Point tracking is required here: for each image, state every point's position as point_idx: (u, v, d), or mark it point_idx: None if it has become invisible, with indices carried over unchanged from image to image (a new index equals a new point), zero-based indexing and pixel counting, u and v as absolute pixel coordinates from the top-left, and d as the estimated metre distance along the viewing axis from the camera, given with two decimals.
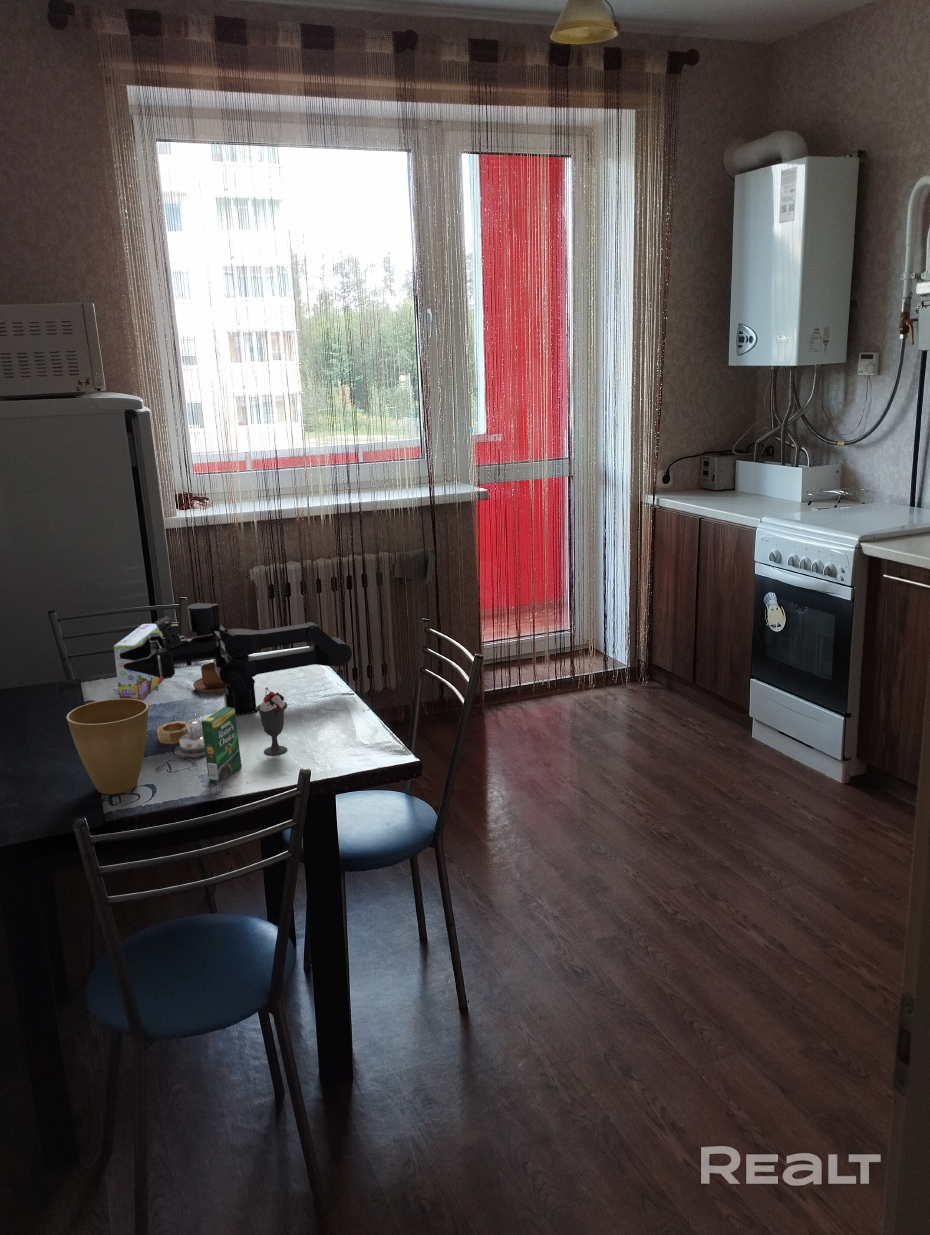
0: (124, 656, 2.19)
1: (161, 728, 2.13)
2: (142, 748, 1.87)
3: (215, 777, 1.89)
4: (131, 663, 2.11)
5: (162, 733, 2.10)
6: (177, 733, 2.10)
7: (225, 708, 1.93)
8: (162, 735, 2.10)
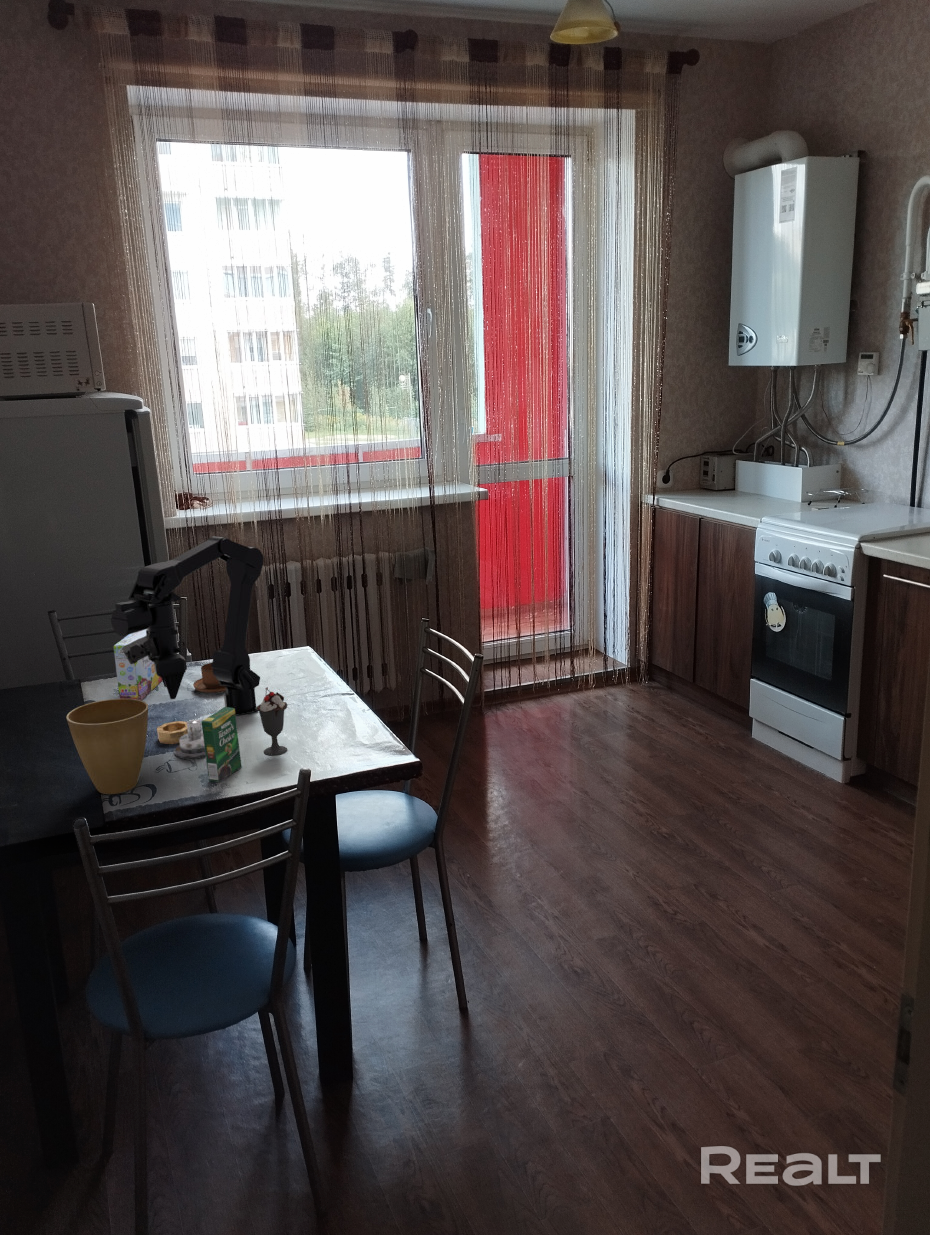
0: None
1: (161, 728, 2.13)
2: (142, 748, 1.87)
3: (215, 777, 1.89)
4: (169, 693, 2.06)
5: (162, 733, 2.10)
6: (177, 733, 2.10)
7: (225, 708, 1.93)
8: (162, 735, 2.10)
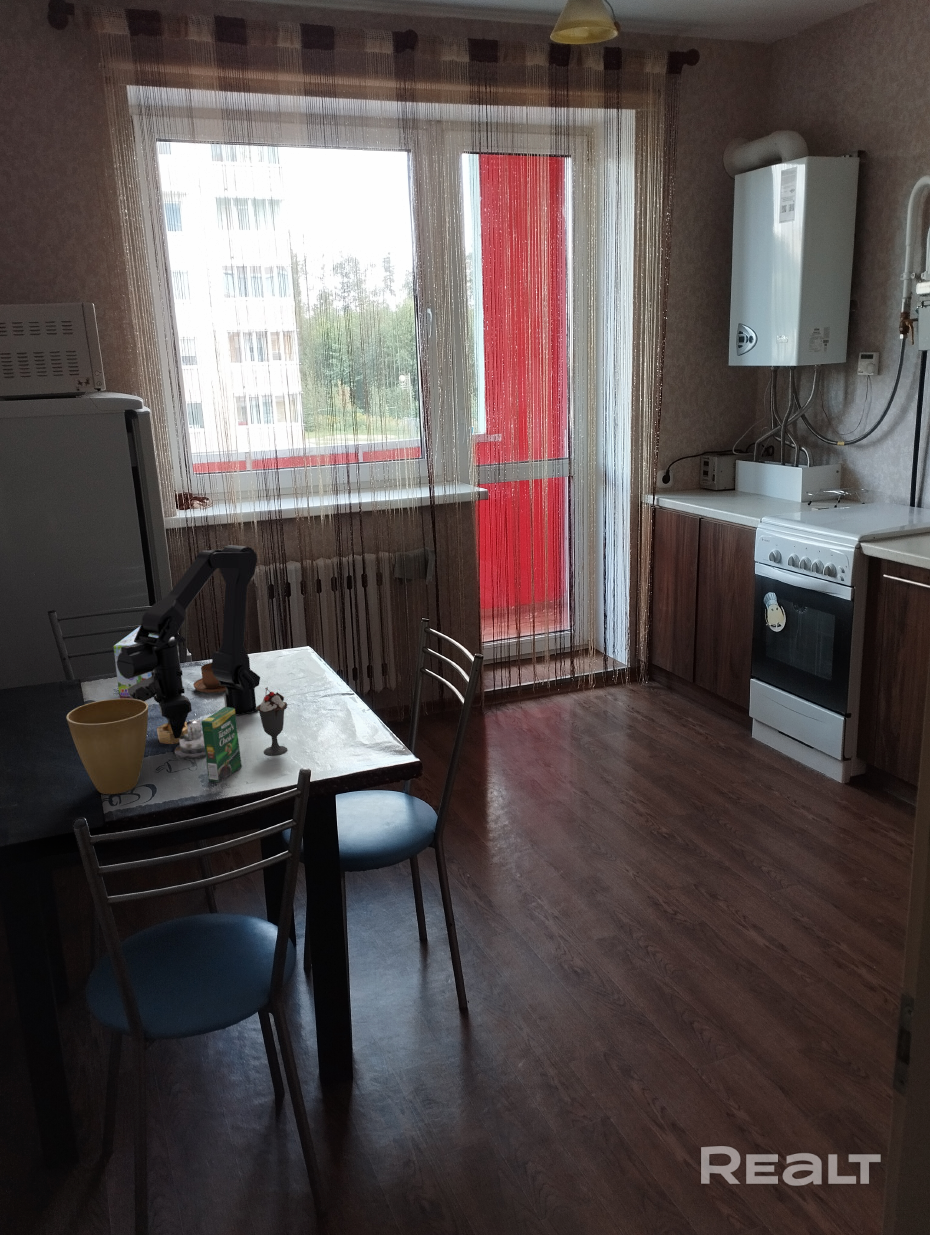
0: None
1: (161, 728, 2.13)
2: (142, 748, 1.87)
3: (215, 777, 1.89)
4: (174, 732, 2.09)
5: (162, 733, 2.10)
6: None
7: (225, 708, 1.93)
8: (162, 735, 2.10)
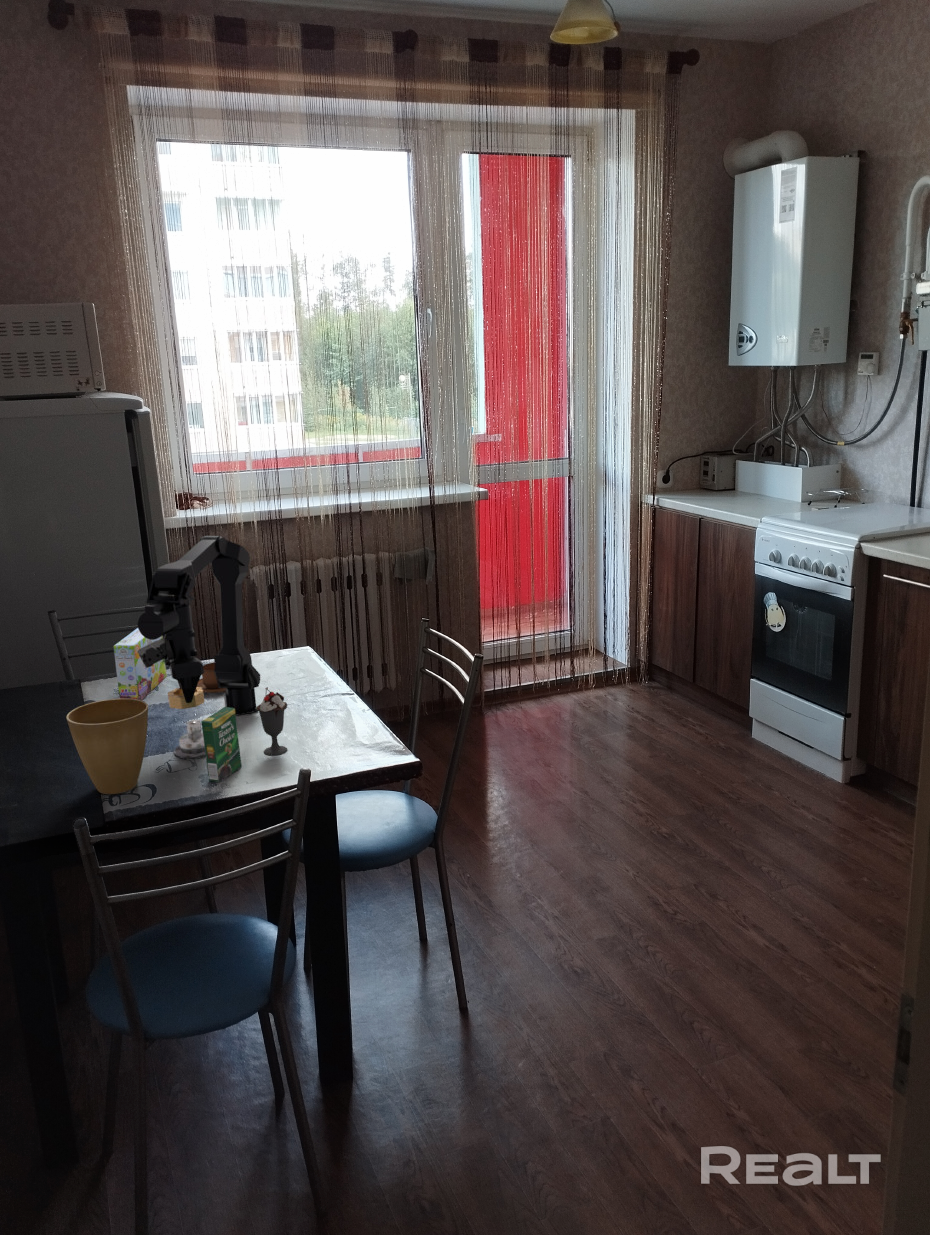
0: None
1: (172, 693, 2.03)
2: (142, 748, 1.87)
3: (215, 777, 1.89)
4: (185, 696, 1.99)
5: (172, 697, 2.01)
6: None
7: (225, 708, 1.93)
8: (173, 699, 2.01)
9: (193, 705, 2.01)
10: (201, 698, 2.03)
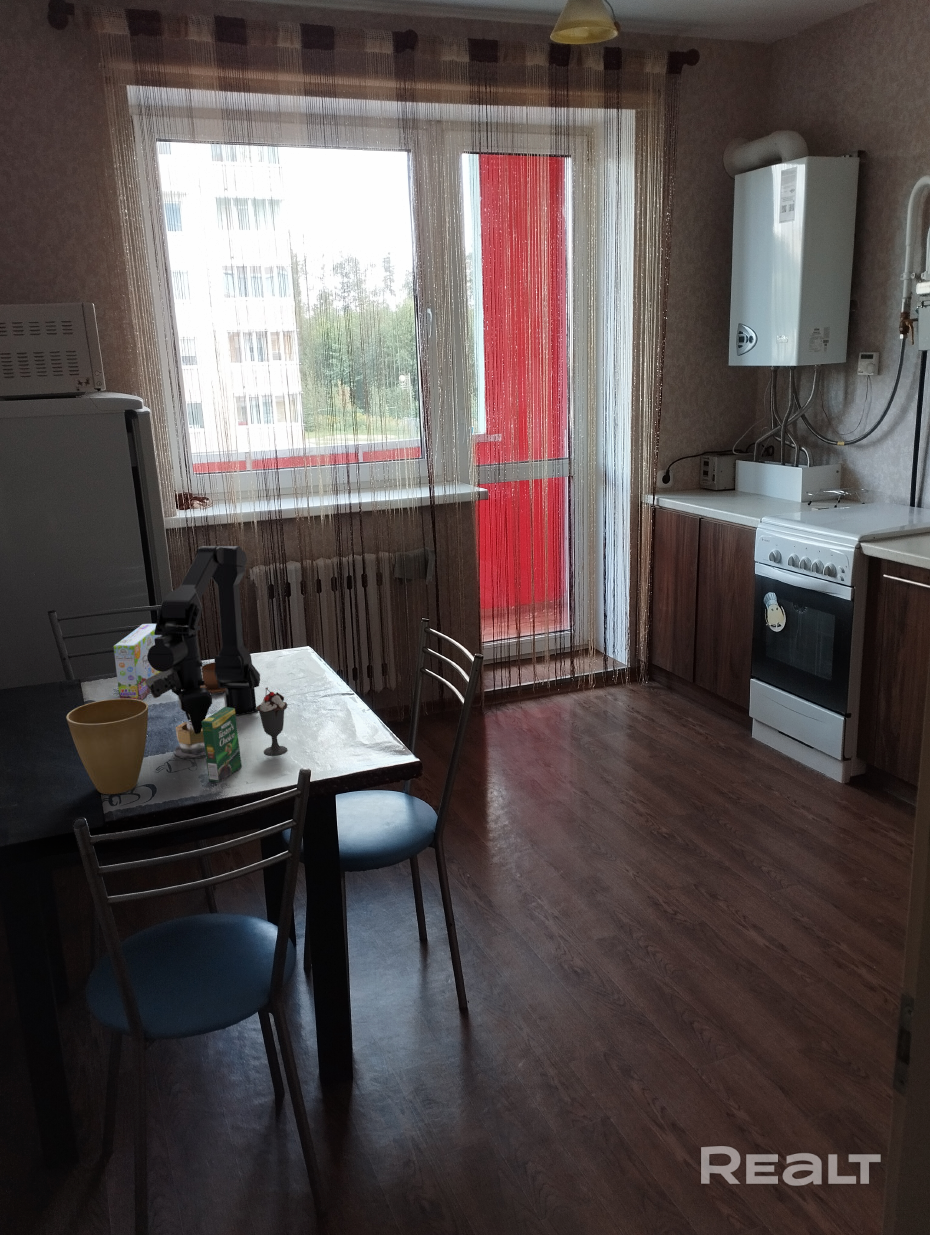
0: None
1: (180, 727, 2.04)
2: (142, 748, 1.87)
3: (215, 777, 1.89)
4: (194, 727, 1.99)
5: (181, 732, 2.02)
6: None
7: (225, 708, 1.93)
8: (181, 734, 2.02)
9: (202, 740, 2.03)
10: None
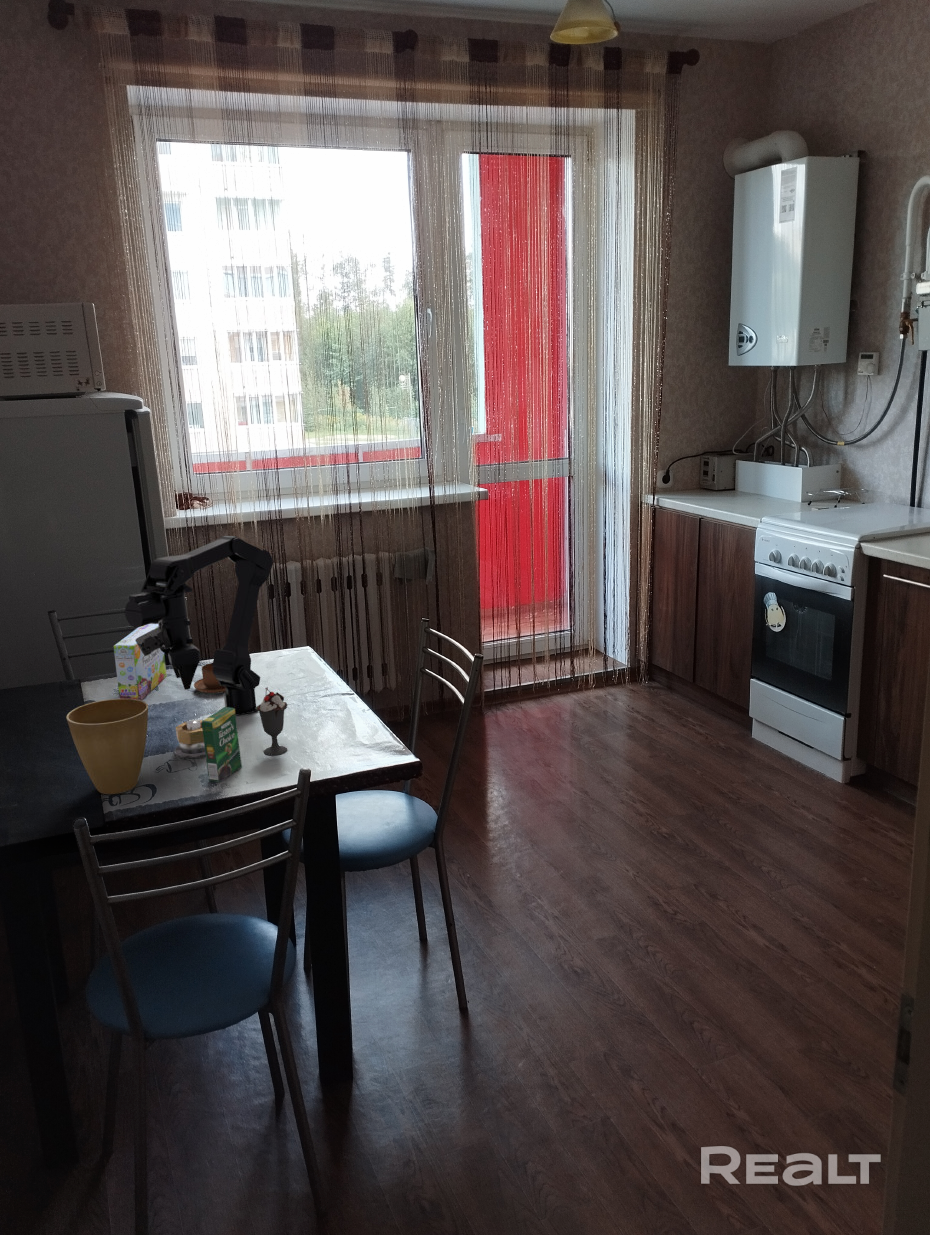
0: None
1: (180, 727, 2.04)
2: (142, 748, 1.87)
3: (215, 777, 1.89)
4: (183, 683, 2.08)
5: (181, 732, 2.02)
6: (197, 732, 2.02)
7: (225, 708, 1.93)
8: (181, 734, 2.02)
9: (202, 740, 2.03)
10: None
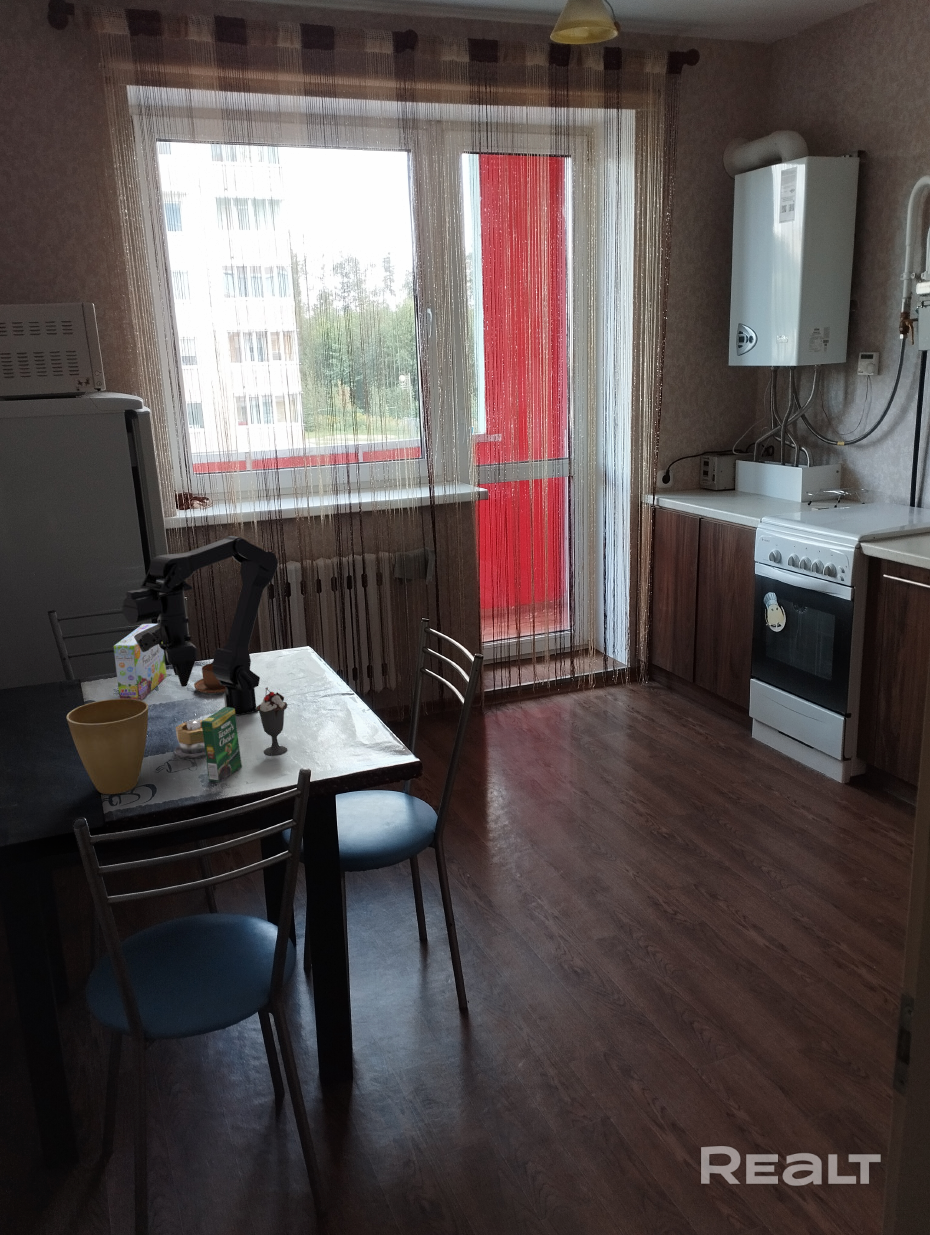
0: None
1: (180, 727, 2.04)
2: (142, 748, 1.87)
3: (215, 777, 1.89)
4: (180, 680, 2.09)
5: (181, 732, 2.02)
6: (197, 732, 2.02)
7: (225, 708, 1.93)
8: (181, 734, 2.02)
9: (202, 740, 2.03)
10: None
